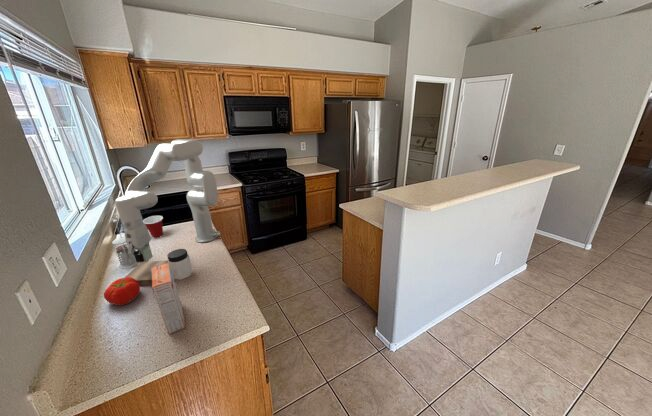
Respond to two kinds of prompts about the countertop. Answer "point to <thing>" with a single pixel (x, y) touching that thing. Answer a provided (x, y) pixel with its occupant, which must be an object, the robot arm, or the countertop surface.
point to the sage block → (145, 254)
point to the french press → (124, 252)
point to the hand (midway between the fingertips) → (144, 258)
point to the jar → (179, 264)
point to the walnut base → (144, 272)
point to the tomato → (122, 291)
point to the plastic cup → (154, 225)
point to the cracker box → (167, 298)
